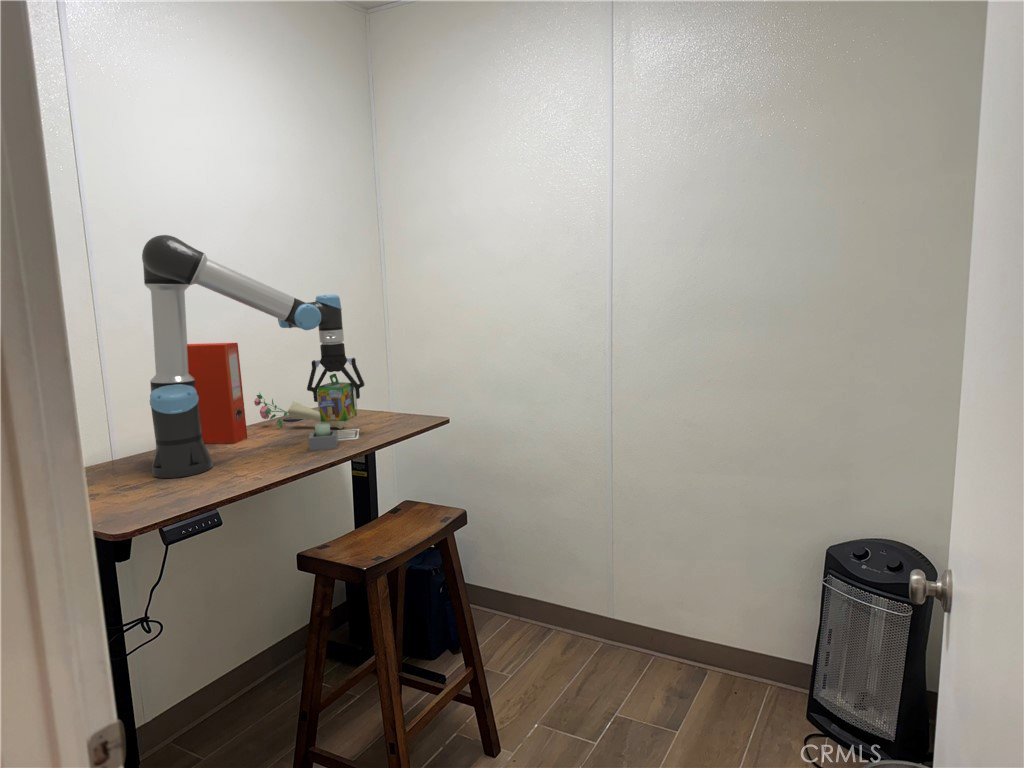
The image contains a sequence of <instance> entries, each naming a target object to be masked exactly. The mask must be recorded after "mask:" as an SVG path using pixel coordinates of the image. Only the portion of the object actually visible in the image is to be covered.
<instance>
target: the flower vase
mask: <svg viewBox="0 0 1024 768" xmlns="http://www.w3.org/2000/svg"><path fill="white" fill-rule="evenodd" d="M258 393H259V394H256V398H255V399H254V401H253V403H254V405H255V407H256V406H257V407H259V406H260V405H261V404H264V405H262V406H261V407H260V409H259V415H260V416H261V418H262V419H264V420H268V419H269V420H272V419H274V418H276V417H278V416H280V414H278V415H276V414H275V413H283V415H282V418H279V419H278V420H277V422H276V425H278V426H279V429H281V428H282V426H283V420H284V418H286V417H287V416H288V415H289V417H290V419H293V420H295V419H296V420H309V421H310V420H311V421H314V422H318V423H329V424H330V427H334V428H337V429H340V430H342V429H343V428H344V426H345V424H346V423H345V422H346V421H328V422H321V418H320V412H319V411H318V410H315V409H312V408H310V407H308V406H306V405H302V404H300V403H298V402H295V401H292V402H291V405H290V406H289V408H288V410H287V411H286V410H285V409H282V408H281V407H279V406H278V405H277V404H274V398H272V400H271V404H270V403H268V402H266V399H265V398H264V397H263V395H262V394H261V392H260V391H259V392H258ZM262 399H263V401H261V400H262ZM271 407H272V408H273V407H274V408H273V410H272V408H271ZM280 410H281V411H280ZM273 412H274V414H272V413H273ZM270 415H271V416H270Z"/></svg>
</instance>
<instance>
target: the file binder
mask: <svg viewBox="0 0 1024 768" xmlns="http://www.w3.org/2000/svg"><path fill="white" fill-rule="evenodd" d="M187 348H188V367H189V374H190V375H191V376H192V377H193V378H195V389H196V391H197V395H198V399H199V400H198V405H199V413H200V422H201V430H202V438H203V442H204V444H237V443H239V442H242V441H243V440H246V439H248V429H247V421H246V411H245V410H246V409H245V402H244V401H245V400H244V393H243V392H244V391H243V382H242V381H243V380H242V373H241V372H242V371H241V363H240V351H239V344H238V342H217V343H216V342H213V343H211V342H210V343H209V342H208V343H187Z"/></svg>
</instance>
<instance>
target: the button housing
mask: <svg viewBox="0 0 1024 768" xmlns="http://www.w3.org/2000/svg"><path fill="white" fill-rule="evenodd" d="M337 431H338V429H336V430H330V434H331V436H319V437H316V433H315V431H311V432H310V434H309V436H308V439H307V440H308V448H309V449H308V450H309V452H314V451H316V452H318V451H326V450H327V451H328V450H337V448H338V445H339V441H338V432H337Z"/></svg>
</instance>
